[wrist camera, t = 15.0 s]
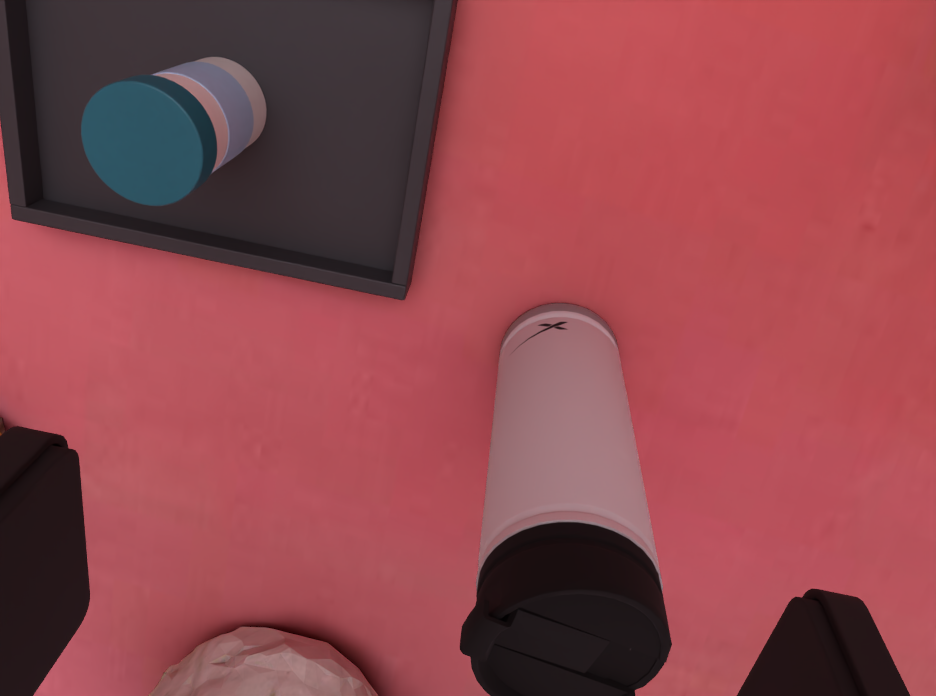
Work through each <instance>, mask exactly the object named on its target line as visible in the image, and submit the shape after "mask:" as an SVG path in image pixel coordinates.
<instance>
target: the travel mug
mask: <svg viewBox="0 0 936 696" xmlns="http://www.w3.org/2000/svg"><path fill="white" fill-rule="evenodd" d="M476 588H477V595H476V596H477V601H476V606H475V607H474V609H473V610H472V611H471V613H470V614H469V616H468V617H467V619H466V621H465V622H464V624H463V626H462V631H461V640H460V650H461V652H462V653H463V654H465V655H467V656H470V657H471V665H472V670H473V672H474V675H475V677H476V679H477V681H478V683H479V684H480V685H481V686H482V688H483V689H484V690H485V691H486V692H487V693H488V694H489V695H491V696H635V690H636V689H638V688H641V687H643V686H645V685H646V684H647V683H648V682H649V681H650V680H652V679H653V678H654V677H655V676H656V675H657V673H658V672H659V671H660V669H661V668H662V666H663V665H664V662H666V660H667V657H668V654H669V651H670V648H671V645H672V643H671V638H670V632H669V627H668V621H667V616H666V610H665V605H664V600H663V594H662V590H663V585H662V579H661V574H660V569H659V563H658V558H657V553H656V547H655V542H654V537H653V531H652V526H651V521H650V515H649V510H648V505H647V499H646V494H645V489H644V483H643V478H642V473H641V467H640V462H639V457H638V451H637V446H636V441H635V435H634V430H633V425H632V419H631V414H630V409H629V403H628V398H627V393H626V387H625V382H624V377H623V371H622V366H621V361H620V355H619V350H618V345H617V340H616V338H615V336H614V333H613V331H612V330H611V328H610V327H609V326H608V324H607V323H606V322H605V321H604V320H603V319H602V318H601V317H600V316H598V315H597V314H595V313H594V312H592V311H590V310H589V309H586V308H584V307H581V306H578V305H573V304H567V303H551V304H546V305H541V306H539V307H536V308H533V309H531V310H529V311H527V312H526V313H524V314H523V315H521V316H520V317H518V318H517V319H516V320H515V321H514V322H513V323H512V324H511V326H510V327H509V329H508V330H507V331H506V333H505V335H504V338H503V340H502V343H501V348H500V355H499V366H498V375H497V385H496V394H495V404H494V414H493V423H492V433H491V443H490V453H489V462H488V472H487V482H486V491H485V501H484V511H483V521H482V530H481V540H480V550H479V560H478V572H477V579H476Z"/></svg>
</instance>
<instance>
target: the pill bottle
mask: <svg viewBox="0 0 936 696" xmlns="http://www.w3.org/2000/svg"><path fill="white" fill-rule="evenodd" d="M265 121H266V102H265V98H264V95H263V92H262V90H261V88H260V86H259V84H258V83H257V81H256V80H255V78H254V77H253V76H252V75H251V74H250V73H249V72H248V71H247V70H246V69H245V68H244V67H242V66H241V65H239V64H238V63H236V62H234V61H232V60H229V59H226V58H221V57H207V58H203V59H199V60H197V61H194V62H188V63H184V64H181V65H178V66H175V67H172V68H169V69H166V70H163V71H160V72H157V73H155V74H152V75H137V76H132V77H129V78H126V79H123V80H120V81H117V82H114V83H111V84H108V85H106V86H104V87H103V88H101V89H100V90H98V91H97V92H96V93H95V94H94V95H93V96H92V97H91V99H90V100H89V102H88V103H87V105H86V108H85V110H84V113H83V116H82V122H81V137H82V143H83V147H84V151H85V153H86V156H87V158H88V160H89V162H90V164H91V166H92V168H93V169H94V171H95V172H96V173H97V175H98V176H99V177H100V178H101V180H102V181H103V182H104V183H105V184H106V185H107V186H108V187H110V188H111V189H112V190H113V191H115V192H116V193H118V194H119V195H121V196H122V197H124V198H126V199H128V200H131V201H133V202H136V203H139V204H143V205H149V206H163V205H169V204H173V203H175V202H177V201H180V200H181V199H183V198H185V197H186V196H187V195H189V194H190V193H192V192H193V191H194V190H196V189H197V188H199V187H200V186H201V185H202V184H203V183H204V182H205V181H206V180H207V179H208V178H209V176H210V174H211V173H213V172H214V171H216V170H217V169H219V168H220V167H221V166H223V165H224V164H226V163H227V162H228V161H230V160H231V159H233V158H234V157H236V156H237V155H238V154H240V153H241V152H242V151H243V150H244V149H245V148H246V147H248V146H249V145H251V144H252V143H253V142H254V141H255V140H256V139H257V138H258V137H259V136H260V134H261V132H262V130H263V128H264V125H265Z"/></svg>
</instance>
